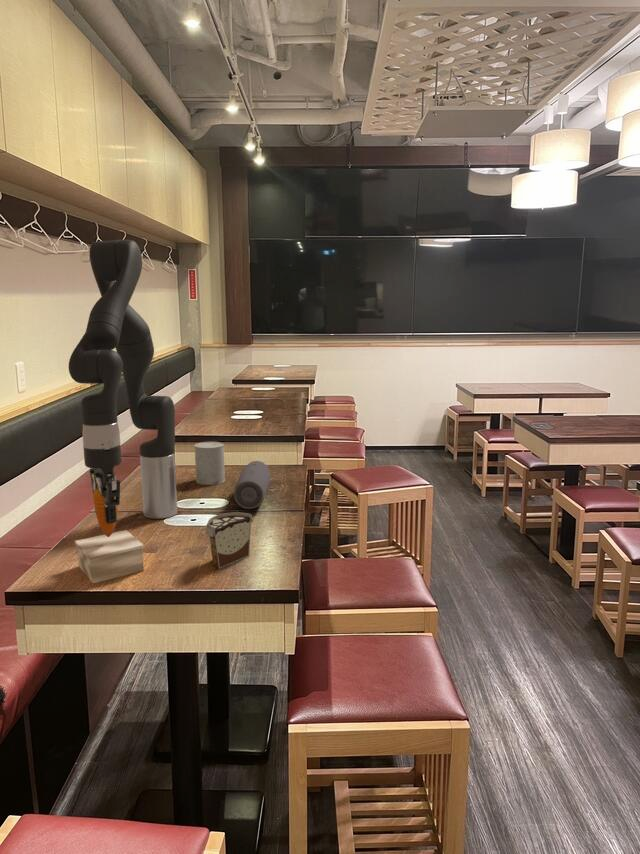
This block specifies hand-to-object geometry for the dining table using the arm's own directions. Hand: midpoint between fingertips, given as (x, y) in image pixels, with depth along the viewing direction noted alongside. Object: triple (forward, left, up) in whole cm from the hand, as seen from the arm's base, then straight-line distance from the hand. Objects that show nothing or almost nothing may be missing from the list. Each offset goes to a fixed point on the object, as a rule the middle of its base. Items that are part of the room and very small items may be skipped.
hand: (107, 518), depth 139 cm
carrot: (0, 0, -4) cm, 4 cm away
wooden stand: (0, 0, -12) cm, 12 cm away
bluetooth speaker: (-24, +50, -12) cm, 57 cm away
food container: (+10, +23, -12) cm, 28 cm away
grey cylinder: (-51, +49, -12) cm, 72 cm away
